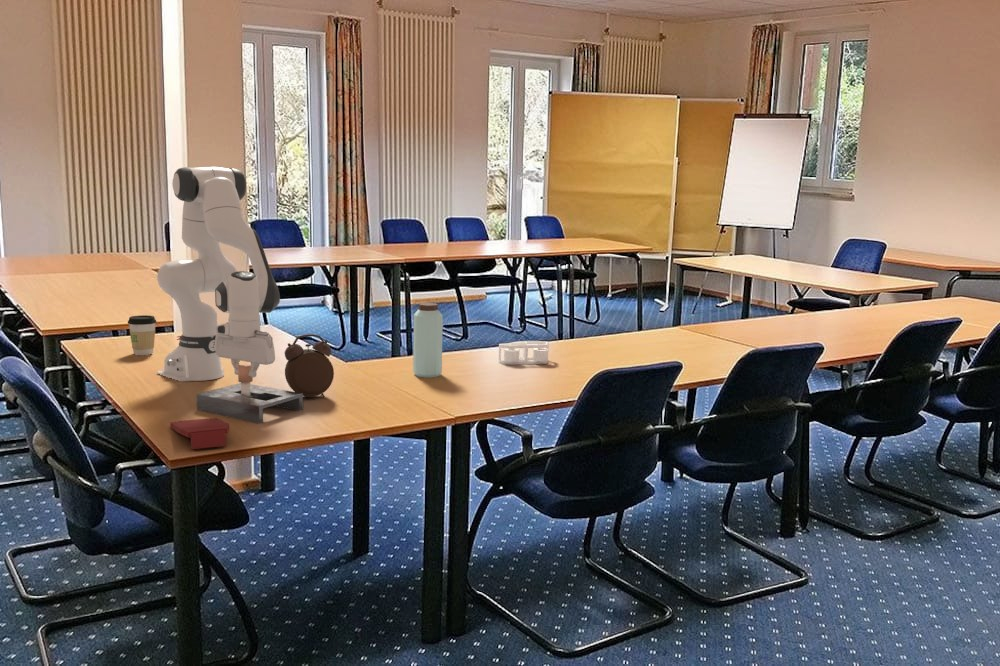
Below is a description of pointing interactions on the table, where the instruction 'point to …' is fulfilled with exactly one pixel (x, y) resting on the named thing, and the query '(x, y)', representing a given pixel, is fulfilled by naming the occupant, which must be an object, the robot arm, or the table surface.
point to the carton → (203, 432)
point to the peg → (244, 378)
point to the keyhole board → (247, 401)
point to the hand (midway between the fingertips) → (245, 375)
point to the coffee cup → (142, 334)
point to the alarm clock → (309, 367)
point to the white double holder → (524, 352)
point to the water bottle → (427, 341)
